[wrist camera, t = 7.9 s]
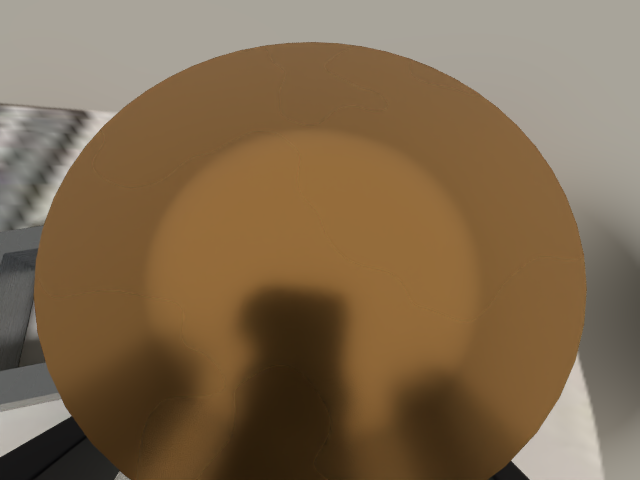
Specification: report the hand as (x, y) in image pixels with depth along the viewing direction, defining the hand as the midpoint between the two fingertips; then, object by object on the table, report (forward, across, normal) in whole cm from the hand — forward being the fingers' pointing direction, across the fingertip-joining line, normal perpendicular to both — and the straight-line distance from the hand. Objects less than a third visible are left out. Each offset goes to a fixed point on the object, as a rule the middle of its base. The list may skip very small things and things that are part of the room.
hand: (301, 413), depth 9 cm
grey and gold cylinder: (+7, 0, +4) cm, 8 cm away
